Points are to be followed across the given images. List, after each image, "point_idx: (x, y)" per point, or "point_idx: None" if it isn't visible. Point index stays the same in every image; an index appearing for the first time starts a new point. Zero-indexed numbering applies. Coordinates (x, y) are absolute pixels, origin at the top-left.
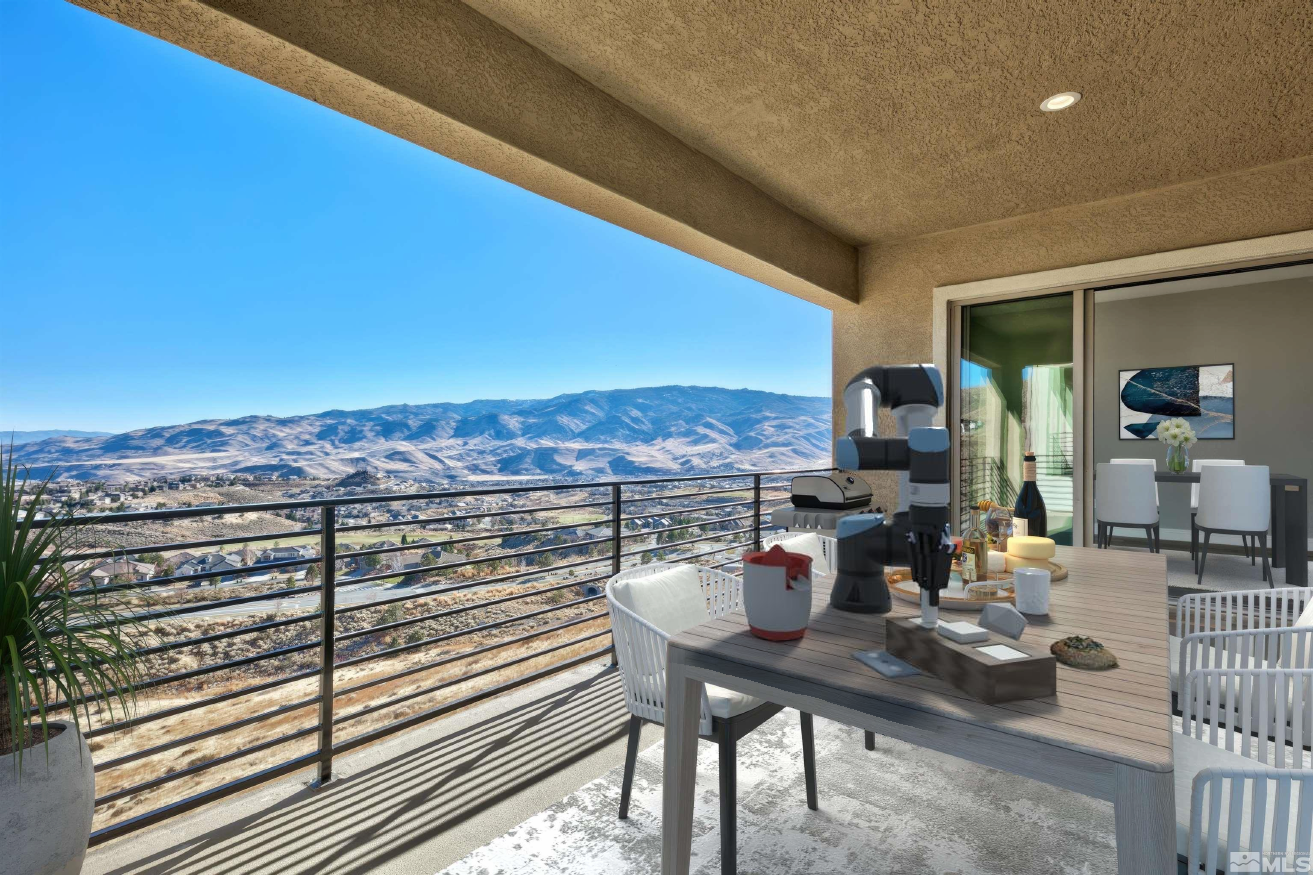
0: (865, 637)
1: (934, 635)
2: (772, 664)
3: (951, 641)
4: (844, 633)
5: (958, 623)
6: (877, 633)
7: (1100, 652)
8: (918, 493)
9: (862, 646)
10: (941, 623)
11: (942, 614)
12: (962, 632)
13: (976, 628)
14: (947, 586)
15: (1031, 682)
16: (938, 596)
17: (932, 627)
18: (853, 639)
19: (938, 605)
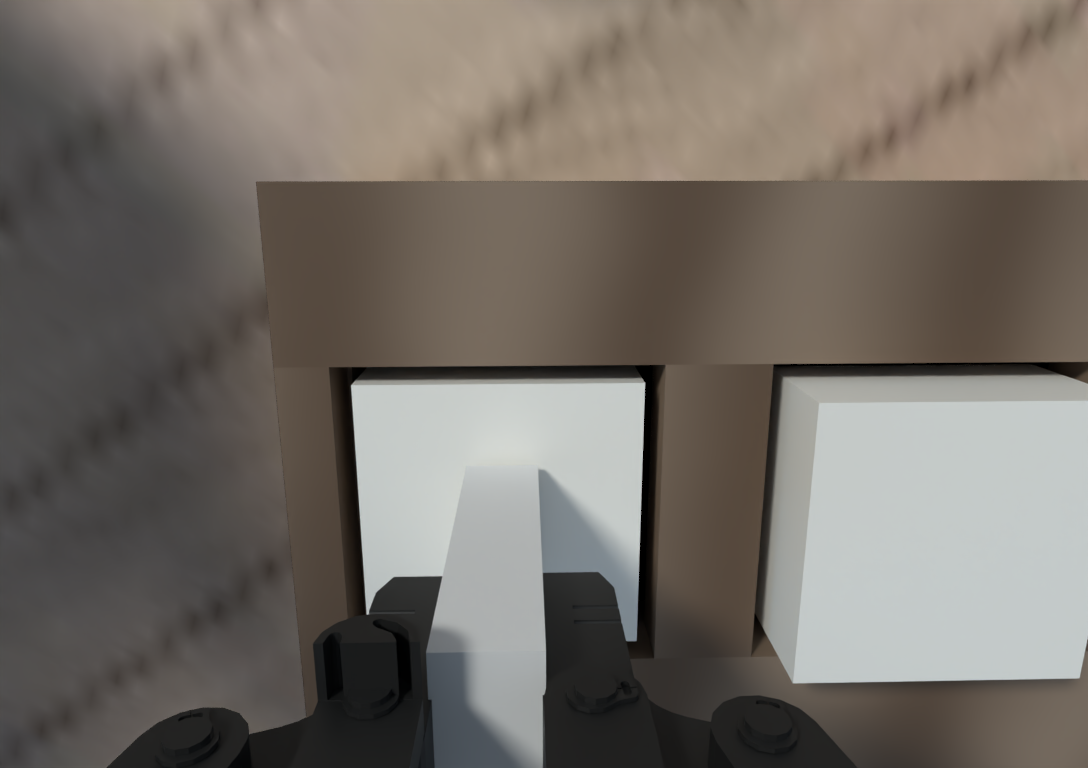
0: (111, 622)
1: (822, 716)
2: None
3: (983, 691)
4: (7, 701)
5: (845, 500)
6: (41, 501)
7: None
8: None
9: (274, 726)
10: (574, 451)
11: (328, 242)
12: (1052, 643)
13: (1031, 452)
14: (819, 729)
15: None
16: (625, 651)
17: (637, 592)
18: (136, 709)
19: (602, 578)
